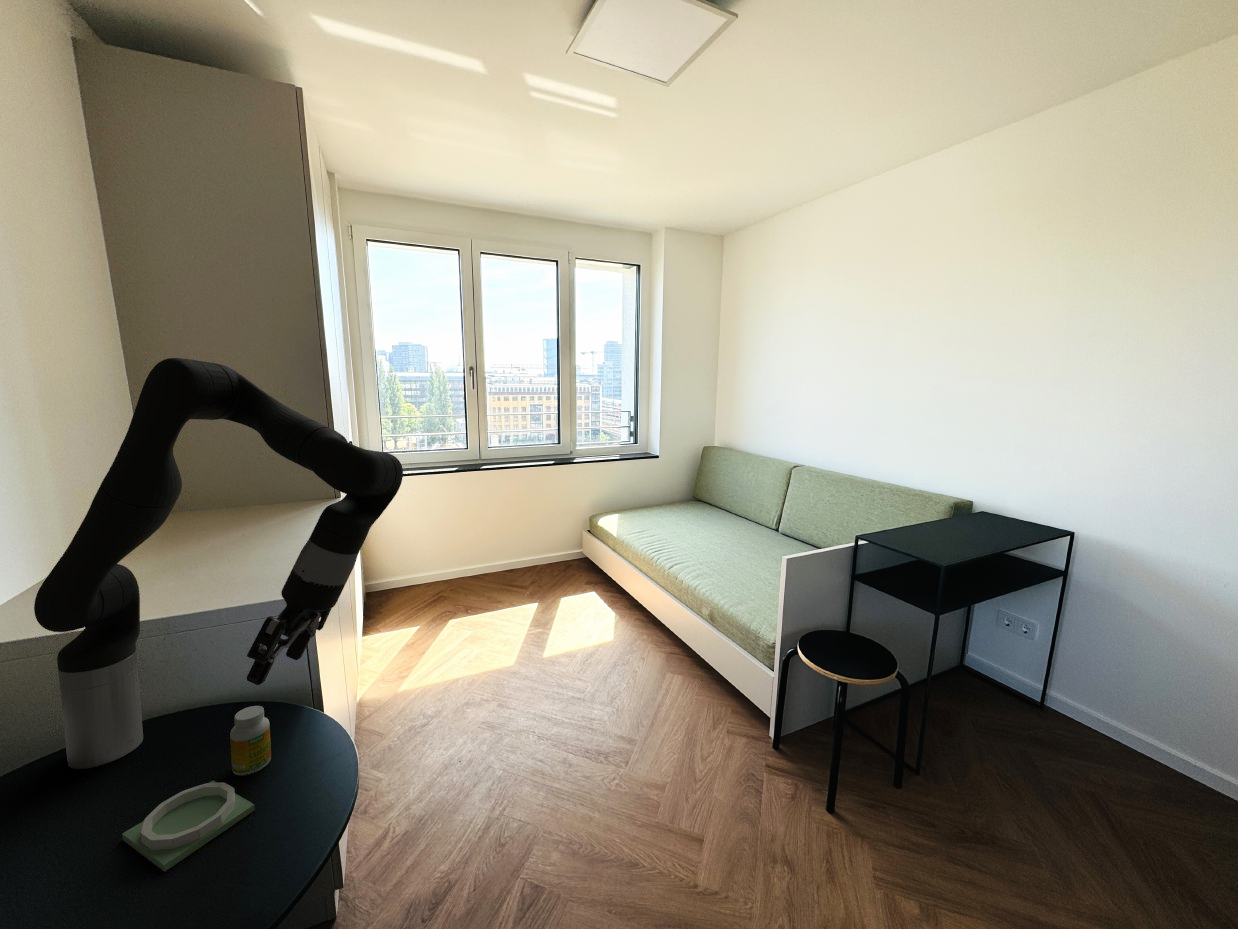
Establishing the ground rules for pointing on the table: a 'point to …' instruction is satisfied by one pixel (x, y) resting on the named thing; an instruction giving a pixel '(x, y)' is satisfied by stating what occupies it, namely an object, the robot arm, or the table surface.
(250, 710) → the supplement bottle
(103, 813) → the table surface
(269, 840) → the table surface
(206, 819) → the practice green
